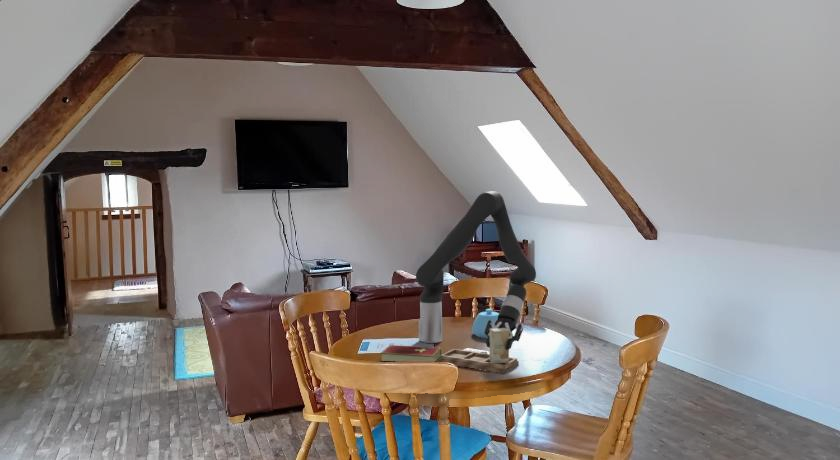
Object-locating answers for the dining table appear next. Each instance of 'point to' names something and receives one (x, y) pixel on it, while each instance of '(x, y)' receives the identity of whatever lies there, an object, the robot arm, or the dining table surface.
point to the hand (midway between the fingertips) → (497, 347)
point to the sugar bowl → (483, 322)
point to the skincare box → (498, 345)
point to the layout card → (476, 350)
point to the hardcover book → (410, 353)
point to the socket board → (477, 361)
